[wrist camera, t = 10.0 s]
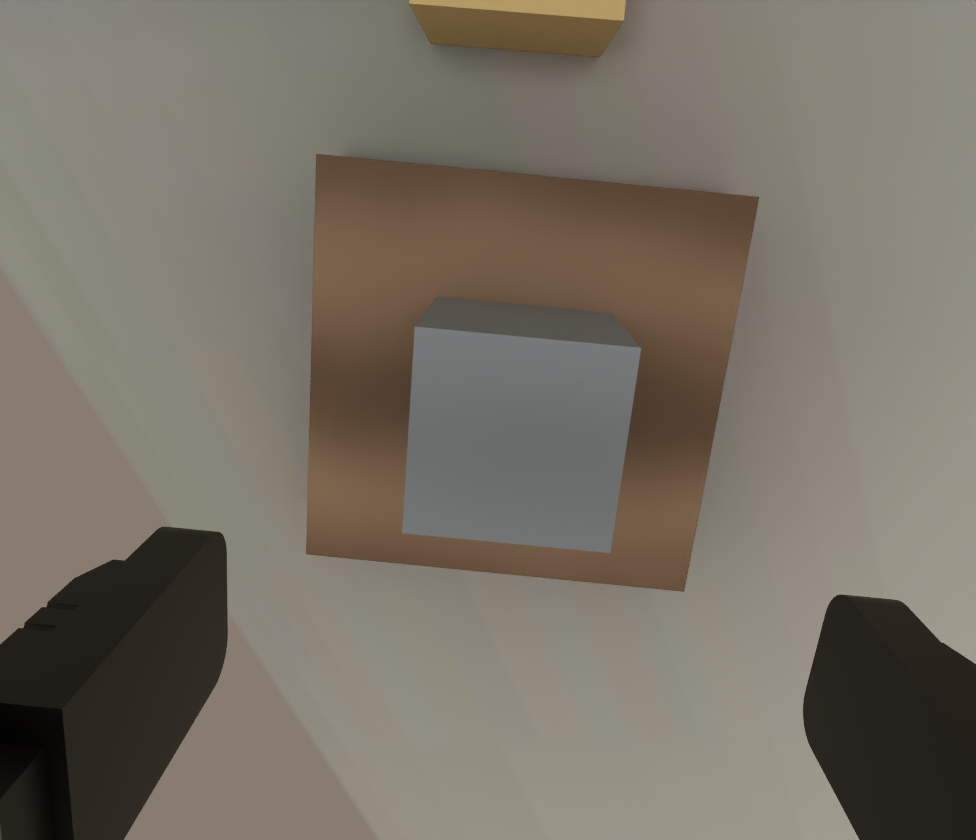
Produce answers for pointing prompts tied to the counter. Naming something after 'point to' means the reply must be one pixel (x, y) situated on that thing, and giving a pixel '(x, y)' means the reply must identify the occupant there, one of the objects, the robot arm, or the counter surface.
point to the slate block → (518, 424)
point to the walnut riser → (528, 281)
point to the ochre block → (522, 24)
